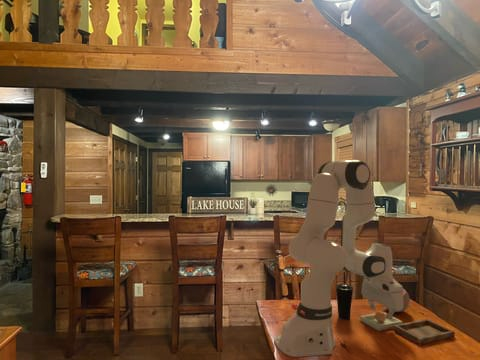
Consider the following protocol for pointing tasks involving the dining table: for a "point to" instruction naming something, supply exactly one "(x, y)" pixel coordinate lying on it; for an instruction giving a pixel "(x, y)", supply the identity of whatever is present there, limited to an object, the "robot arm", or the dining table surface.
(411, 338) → the dish
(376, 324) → the tray
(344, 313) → the drinking cup
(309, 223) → the robot arm
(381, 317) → the ball
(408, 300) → the mortar and pestle
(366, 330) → the dining table surface
